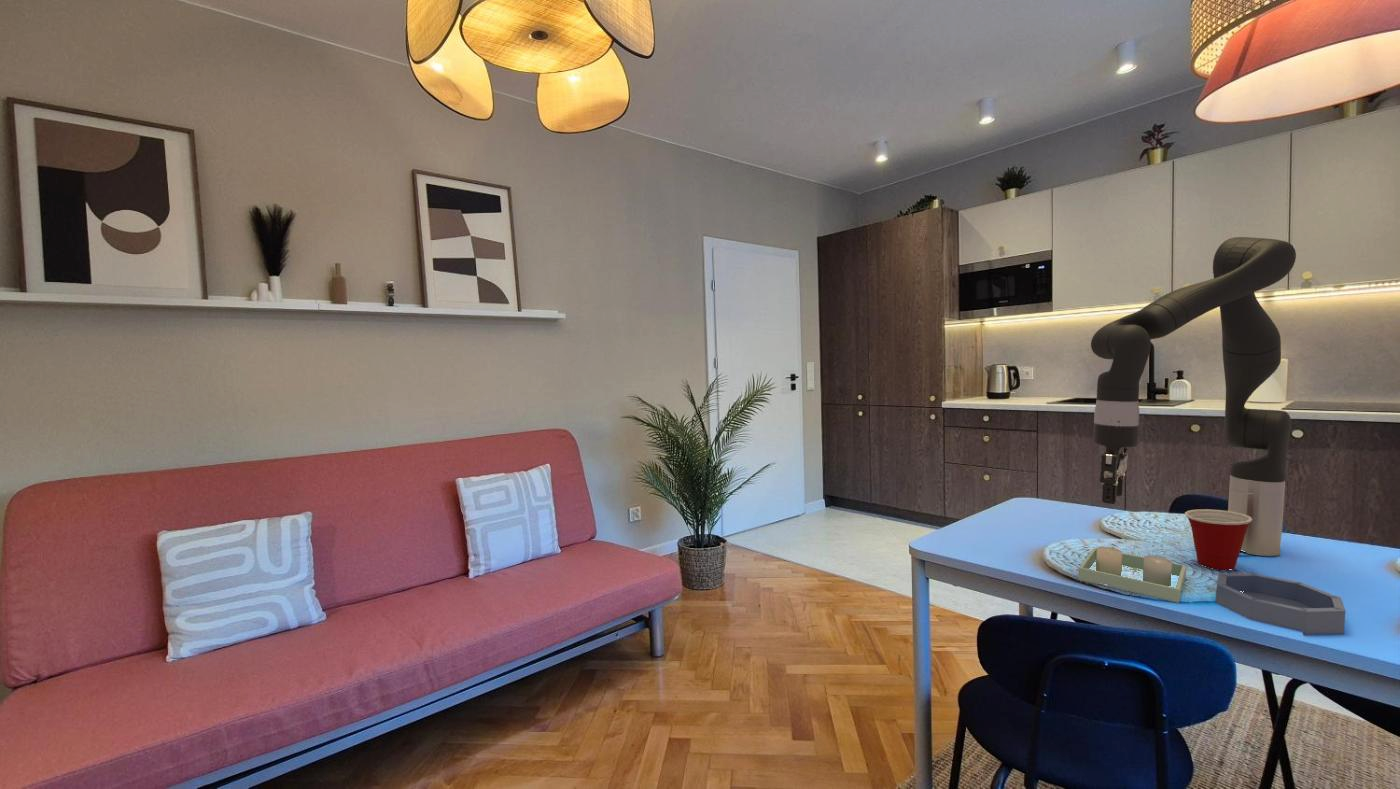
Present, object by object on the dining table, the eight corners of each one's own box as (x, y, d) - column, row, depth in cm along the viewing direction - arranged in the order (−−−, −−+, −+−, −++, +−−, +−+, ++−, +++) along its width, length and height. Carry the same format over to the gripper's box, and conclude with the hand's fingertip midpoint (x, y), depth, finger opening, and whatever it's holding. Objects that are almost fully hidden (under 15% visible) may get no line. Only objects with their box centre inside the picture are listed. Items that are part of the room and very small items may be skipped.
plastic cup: (1175, 555, 132) (1177, 504, 131) (1236, 563, 127) (1240, 510, 126) (1190, 572, 122) (1193, 517, 121) (1257, 581, 117) (1261, 524, 116)
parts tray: (1093, 560, 130) (1093, 547, 129) (1185, 579, 119) (1186, 565, 118) (1077, 581, 118) (1078, 567, 118) (1178, 605, 107) (1179, 589, 107)
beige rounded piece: (1144, 577, 119) (1145, 554, 118) (1171, 583, 116) (1173, 559, 115) (1141, 584, 115) (1142, 560, 115) (1169, 590, 112) (1170, 565, 112)
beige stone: (1097, 567, 124) (1098, 545, 124) (1122, 572, 121) (1124, 549, 121) (1093, 573, 121) (1094, 550, 121) (1119, 579, 118) (1120, 555, 118)
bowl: (1218, 586, 115) (1219, 566, 115) (1336, 610, 104) (1338, 589, 104) (1214, 613, 104) (1215, 592, 103) (1347, 644, 93) (1349, 620, 92)
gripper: (1133, 427, 111) (1129, 509, 112) (1143, 420, 121) (1139, 495, 122) (1087, 424, 116) (1084, 502, 117) (1100, 417, 126) (1097, 489, 127)
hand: (1112, 499), depth 120 cm, fingers open, 8 cm apart
